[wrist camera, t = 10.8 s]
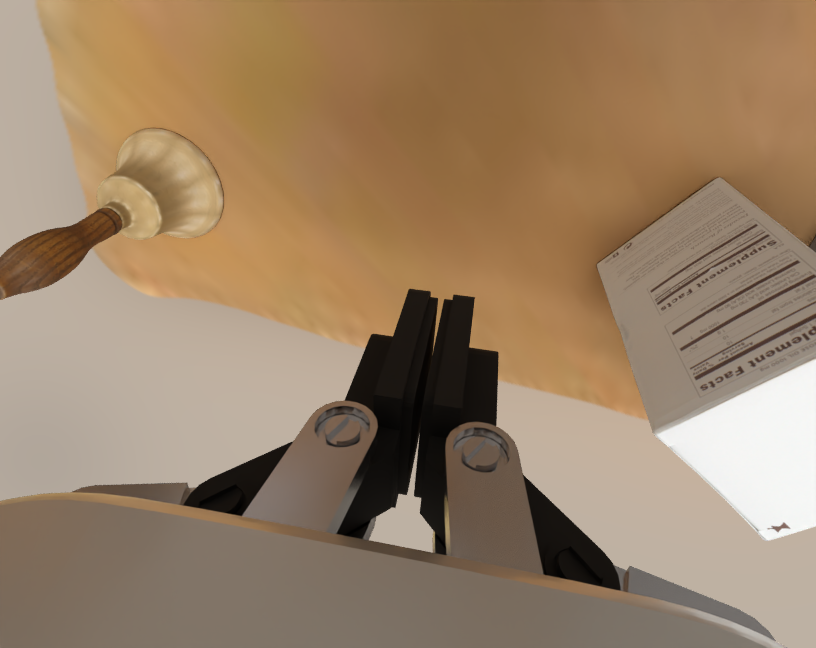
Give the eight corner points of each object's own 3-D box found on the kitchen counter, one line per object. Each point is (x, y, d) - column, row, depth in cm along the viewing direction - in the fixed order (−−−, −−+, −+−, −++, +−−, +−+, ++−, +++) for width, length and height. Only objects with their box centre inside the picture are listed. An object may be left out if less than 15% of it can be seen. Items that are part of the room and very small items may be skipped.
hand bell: (210, 130, 34) (23, 209, 21) (233, 240, 38) (92, 363, 25) (103, 125, 35) (-139, 198, 22) (138, 233, 39) (-45, 347, 26)
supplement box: (798, 271, 32) (1019, 472, 18) (670, 345, 37) (769, 550, 23) (718, 170, 30) (904, 314, 16) (591, 263, 34) (649, 437, 21)
